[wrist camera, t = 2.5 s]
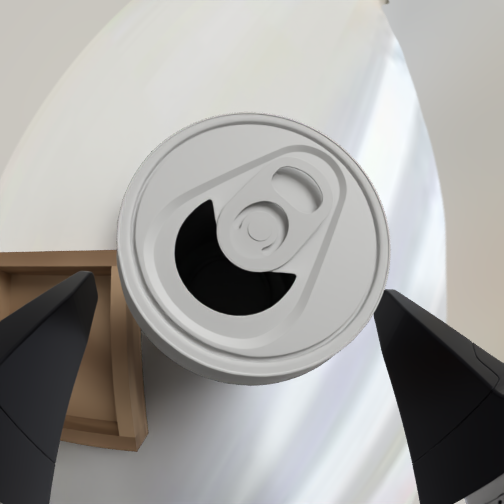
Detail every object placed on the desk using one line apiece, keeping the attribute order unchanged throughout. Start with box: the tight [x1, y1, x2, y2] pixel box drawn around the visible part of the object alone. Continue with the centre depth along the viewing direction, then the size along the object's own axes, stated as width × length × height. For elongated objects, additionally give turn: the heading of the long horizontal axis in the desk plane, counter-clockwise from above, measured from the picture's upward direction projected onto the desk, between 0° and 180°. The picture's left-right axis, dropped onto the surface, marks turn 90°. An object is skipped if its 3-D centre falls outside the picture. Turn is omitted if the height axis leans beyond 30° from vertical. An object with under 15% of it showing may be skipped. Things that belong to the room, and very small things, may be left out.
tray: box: [0, 250, 148, 452], centre depth 14 cm, size 10×10×3 cm
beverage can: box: [117, 112, 391, 386], centre depth 11 cm, size 6×6×12 cm
